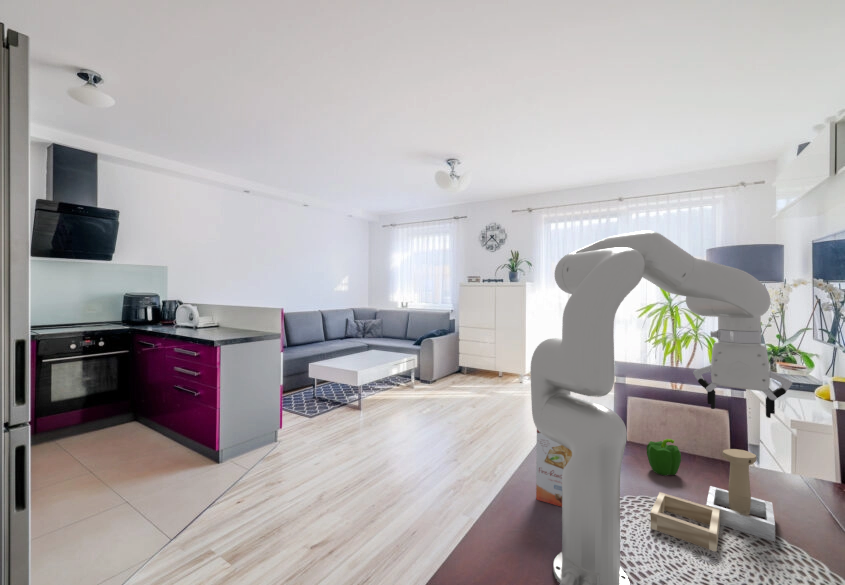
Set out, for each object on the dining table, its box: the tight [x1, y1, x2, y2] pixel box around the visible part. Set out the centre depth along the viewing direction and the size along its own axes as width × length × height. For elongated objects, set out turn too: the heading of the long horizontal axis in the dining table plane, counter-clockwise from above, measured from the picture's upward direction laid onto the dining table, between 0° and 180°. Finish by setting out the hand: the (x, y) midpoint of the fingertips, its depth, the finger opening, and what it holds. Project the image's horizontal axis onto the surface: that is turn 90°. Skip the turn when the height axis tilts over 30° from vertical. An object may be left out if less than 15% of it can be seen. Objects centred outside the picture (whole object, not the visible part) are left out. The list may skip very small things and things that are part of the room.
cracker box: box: [535, 429, 572, 508], centre depth 91 cm, size 14×6×21 cm, turn 60°
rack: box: [650, 491, 721, 553], centre depth 82 cm, size 11×11×4 cm
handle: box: [721, 448, 757, 515], centre depth 85 cm, size 5×6×15 cm
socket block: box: [705, 485, 776, 543], centre depth 85 cm, size 11×11×4 cm
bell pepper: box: [646, 438, 682, 477], centre depth 108 cm, size 8×8×10 cm
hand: (739, 411), depth 85 cm, fingers open, 9 cm apart
